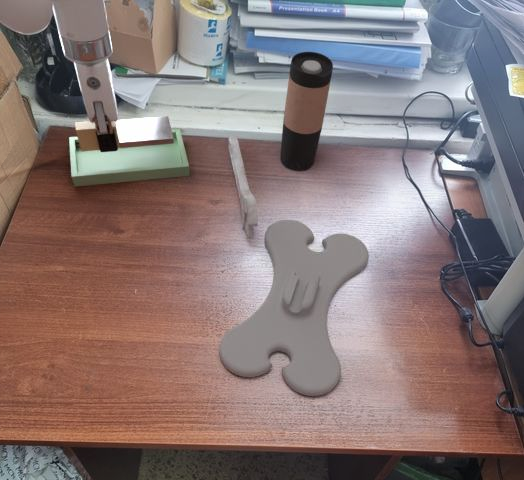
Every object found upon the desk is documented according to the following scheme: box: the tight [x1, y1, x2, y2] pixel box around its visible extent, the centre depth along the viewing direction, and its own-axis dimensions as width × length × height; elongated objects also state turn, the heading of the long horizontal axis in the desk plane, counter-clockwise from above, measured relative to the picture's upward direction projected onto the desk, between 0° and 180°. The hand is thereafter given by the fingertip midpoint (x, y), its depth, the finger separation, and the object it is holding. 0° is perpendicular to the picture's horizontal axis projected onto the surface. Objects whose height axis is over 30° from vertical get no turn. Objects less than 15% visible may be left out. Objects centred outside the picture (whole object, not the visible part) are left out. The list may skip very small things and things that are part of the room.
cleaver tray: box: [68, 128, 191, 187], centre depth 100 cm, size 22×12×2 cm, turn 103°
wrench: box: [228, 136, 259, 239], centre depth 96 cm, size 8×2×30 cm
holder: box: [218, 219, 370, 397], centre depth 83 cm, size 19×34×5 cm, turn 164°
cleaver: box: [74, 115, 174, 151], centre depth 95 cm, size 17×7×4 cm, turn 103°
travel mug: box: [279, 51, 334, 172], centre depth 97 cm, size 8×8×20 cm
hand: (108, 144), depth 94 cm, fingers closed on cleaver, 2 cm apart
